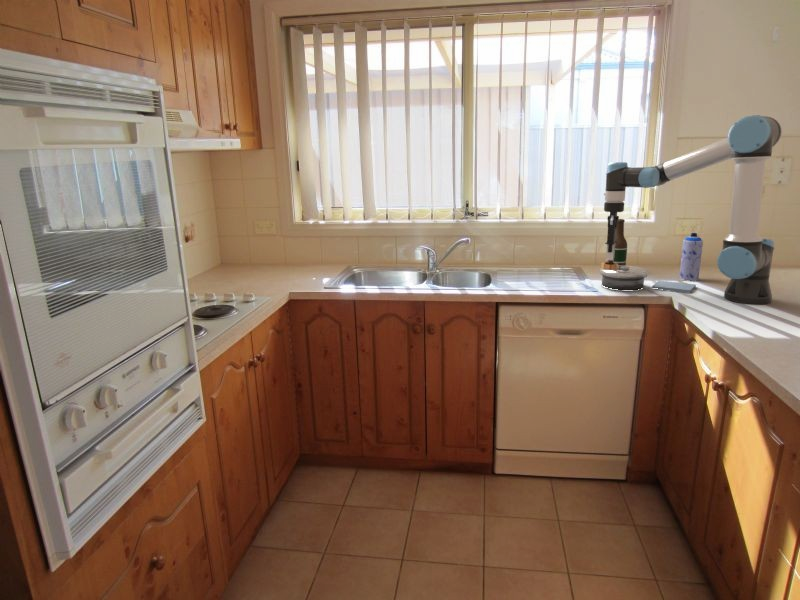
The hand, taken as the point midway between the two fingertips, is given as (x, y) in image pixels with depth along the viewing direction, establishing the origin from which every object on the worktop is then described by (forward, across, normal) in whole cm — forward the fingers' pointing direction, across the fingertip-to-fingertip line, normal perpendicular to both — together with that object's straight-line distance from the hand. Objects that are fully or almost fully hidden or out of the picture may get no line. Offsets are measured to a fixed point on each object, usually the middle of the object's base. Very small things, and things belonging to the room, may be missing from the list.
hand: (610, 259), depth 231 cm
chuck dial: (+6, 0, +6) cm, 8 cm away
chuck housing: (+11, 0, +6) cm, 12 cm away
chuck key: (+4, 0, 0) cm, 4 cm away
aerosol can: (+11, -24, +30) cm, 41 cm away
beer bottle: (+11, -32, 0) cm, 34 cm away
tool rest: (+11, -4, +25) cm, 27 cm away
